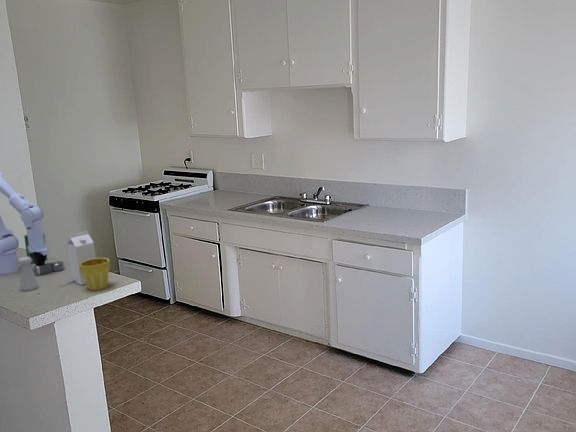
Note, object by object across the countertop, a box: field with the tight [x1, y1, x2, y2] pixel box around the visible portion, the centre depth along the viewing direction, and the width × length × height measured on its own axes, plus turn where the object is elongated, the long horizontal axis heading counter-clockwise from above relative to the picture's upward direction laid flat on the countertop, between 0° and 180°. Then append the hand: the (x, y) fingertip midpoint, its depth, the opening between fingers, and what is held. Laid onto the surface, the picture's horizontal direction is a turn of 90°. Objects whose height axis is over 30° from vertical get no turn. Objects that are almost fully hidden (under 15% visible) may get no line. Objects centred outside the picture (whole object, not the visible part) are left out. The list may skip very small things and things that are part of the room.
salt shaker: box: [17, 256, 39, 292], centre depth 195 cm, size 6×6×13 cm
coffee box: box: [23, 232, 49, 265], centre depth 234 cm, size 8×3×13 cm, turn 110°
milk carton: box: [66, 230, 97, 286], centre depth 203 cm, size 7×7×19 cm
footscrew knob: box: [34, 260, 65, 277], centre depth 215 cm, size 11×5×4 cm, turn 138°
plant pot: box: [79, 257, 111, 291], centre depth 196 cm, size 10×10×10 cm
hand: (41, 269), depth 216 cm, fingers closed
